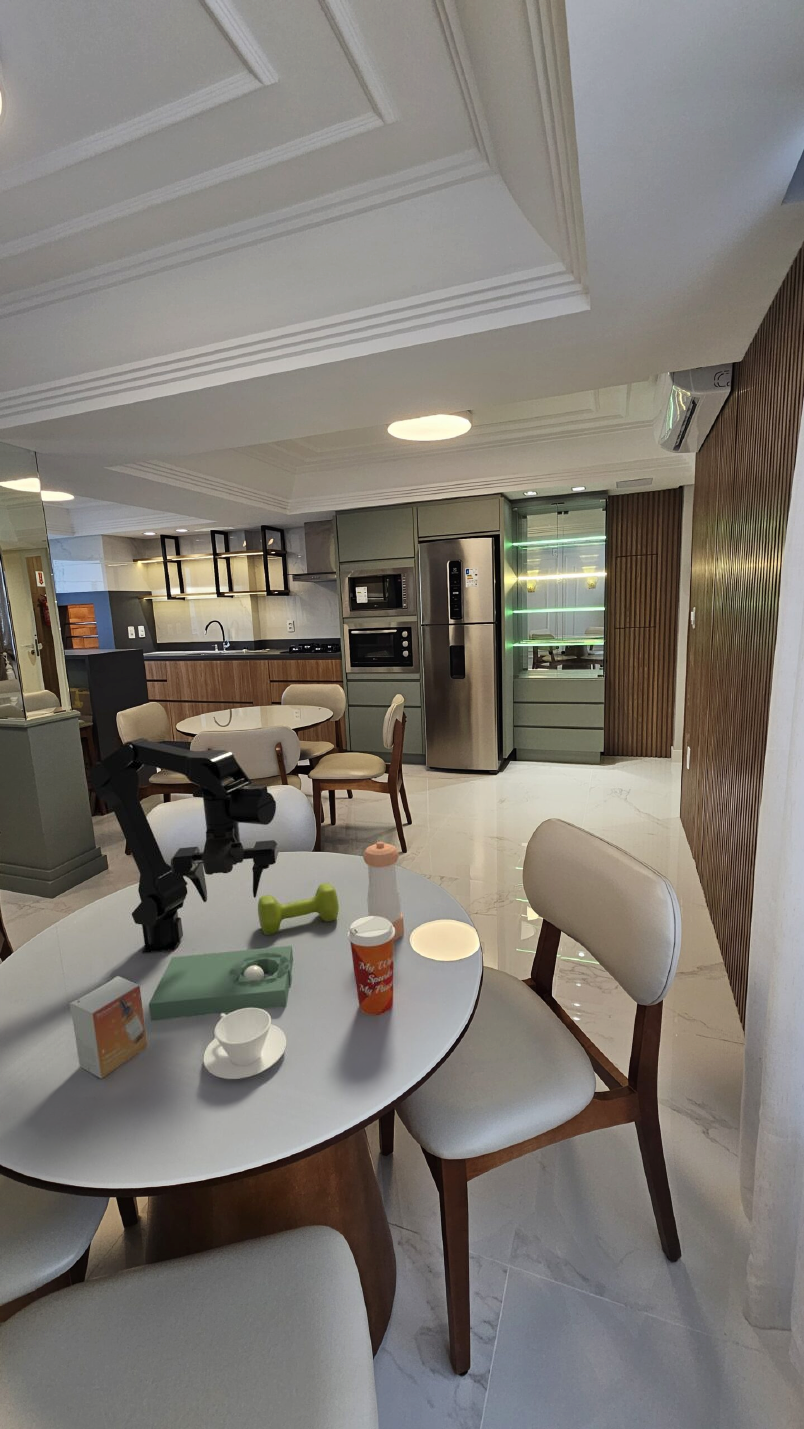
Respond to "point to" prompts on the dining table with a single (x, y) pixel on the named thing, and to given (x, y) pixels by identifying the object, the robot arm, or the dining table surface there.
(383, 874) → the salt shaker
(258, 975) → the ball
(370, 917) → the paper cup
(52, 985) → the dining table surface
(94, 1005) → the small box
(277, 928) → the dumbbell
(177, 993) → the green slab with hollow
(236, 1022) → the teacup
